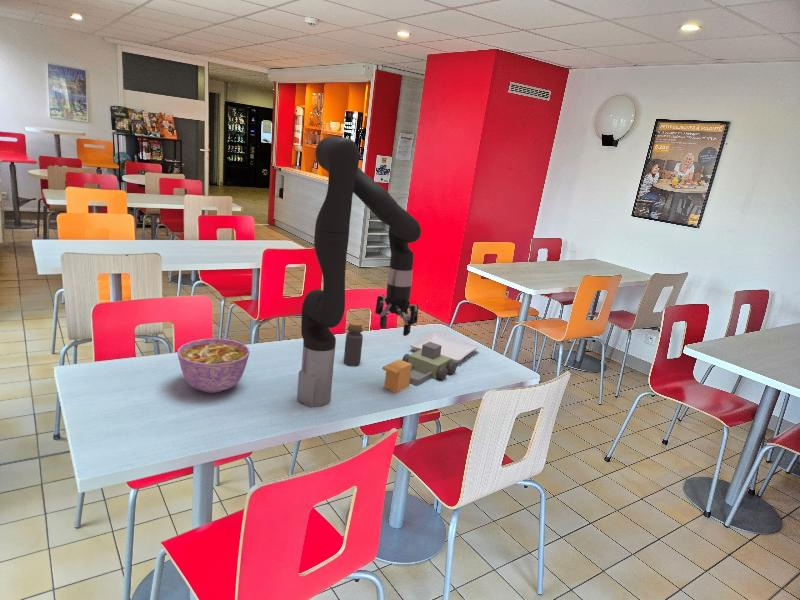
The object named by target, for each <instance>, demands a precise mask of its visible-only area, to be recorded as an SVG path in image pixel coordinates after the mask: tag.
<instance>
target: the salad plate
mask: <svg viewBox="0 0 800 600" xmlns="http://www.w3.org/2000/svg"><path fill="white" fill-rule="evenodd" d="M428 342H432V343H435V344H438V345H441V346H442V347H441V355H443V356H446V357H449V358H452V362H455V363H457V364H458V363H459V362H460V361H462V360H463V359H464V358H466V356H468V355H471V354H472V353H473V352H475V351H476V350H477V349H478V348H479V347H480V346H479V345H478V344H474V343H471V342H469V341H466V340H462V339H459V338H456V337H452V336H450V335H446V334H442V333H440V332H439V333H438V332H435V331H433V332H431V333H428V334H427V335H425V336H423V337H420V338H419V339H418V340H415V341H413V342H412V343H410V344H409V346H410V347H411V349H412V350H414V351H415V350H416V349H418V350H421V349H422V345H423V344H426V343H428Z"/></svg>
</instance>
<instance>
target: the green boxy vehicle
mask: <svg viewBox="0 0 800 600" xmlns="http://www.w3.org/2000/svg"><path fill="white" fill-rule="evenodd" d="M441 347H442V346H441V345H438V344H435V343H432V342H428V343H426V344H423V345H422V349H421V350H418V349H416V350H414V351H413V353H411V354H409V353H406V354H404V355H403V357H402V359H401V360H402V361H405V362H408V363H411V364H412V366H411V373H410V381H409V384H411V385H412V386H416V387H418V386H419V384H420V385H421V384H423V383H425V382H426V380H427V381H428V380H430V379H435V380H437V379H438V380H440V381H444V380H445V379H446V377H447V375H448V374H449V375H454V374H455V373H456V371H457V368H458V362H457V363H455V362H452V358H449V357H446V356H443V355H441Z"/></svg>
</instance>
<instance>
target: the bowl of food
mask: <svg viewBox="0 0 800 600" xmlns="http://www.w3.org/2000/svg"><path fill="white" fill-rule="evenodd" d="M250 353H251V351H250V348H249V347H248V346H247V345H246V344H244V343H242V342H239V341H237V340H233V339H226V338H203V339H197V340H192V341H189V342H186V343H185V344H182V345H181V346H179V348H178V349H177V358H178V361H179V365H180V369H181V372H182V376H183V378H184V380H185V381H186V382H187V384H188V385H189V386H190V387H192V388H194V389H196V390H198V391H201V390H202V391H201V392H204V391H205V392H204V393H209V392H211V393H213V392H216V393H220V392H221V393H222V392H224V391H225V390H228V389H231V388H233V387H234V386H236V385H237V384H238V383H239V382H240V380H241V379H242V377H243V375H244V372H245V369H246V366H247V363H248V360H249V356H250ZM223 390H224V391H223ZM211 393H210V394H211Z"/></svg>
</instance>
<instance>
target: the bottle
mask: <svg viewBox="0 0 800 600" xmlns="http://www.w3.org/2000/svg"><path fill="white" fill-rule="evenodd" d="M347 331H348V332H347V333H345V334H346V335H345V343H344V344H345V345H344V351H343V354H344V355H343V364H344V365H346V366H350V367H357V366H360V364H361V360H362V359H361V356H362V349H363V341H364V340H363V338H364V336H363V334H362V332H363V322H361V321H358V320H351V321H350V320H349V322H348V327H347Z"/></svg>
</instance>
